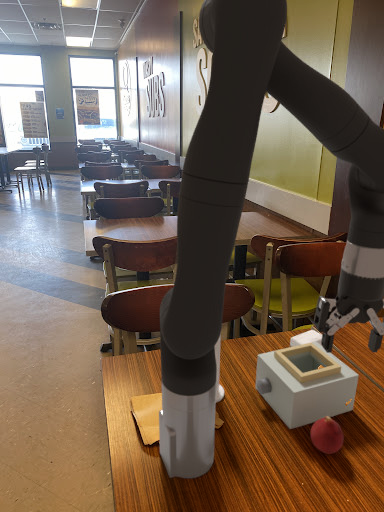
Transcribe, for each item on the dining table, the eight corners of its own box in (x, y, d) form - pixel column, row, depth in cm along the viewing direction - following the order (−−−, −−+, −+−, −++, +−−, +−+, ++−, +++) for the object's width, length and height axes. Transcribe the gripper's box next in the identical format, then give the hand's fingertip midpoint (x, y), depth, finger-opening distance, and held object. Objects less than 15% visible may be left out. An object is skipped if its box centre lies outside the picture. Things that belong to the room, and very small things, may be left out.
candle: (219, 407, 86) (223, 303, 78) (189, 399, 88) (189, 298, 80) (227, 387, 92) (231, 289, 84) (198, 381, 94) (200, 285, 86)
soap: (311, 337, 114) (312, 328, 113) (326, 346, 110) (327, 337, 109) (288, 346, 110) (289, 336, 109) (303, 356, 105) (304, 346, 104)
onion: (334, 439, 78) (339, 406, 75) (345, 463, 72) (351, 428, 69) (304, 439, 77) (309, 406, 75) (314, 464, 72) (319, 429, 69)
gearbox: (281, 432, 79) (286, 388, 76) (247, 389, 92) (250, 350, 88) (352, 410, 85) (359, 368, 82) (311, 373, 98) (316, 335, 94)
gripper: (332, 276, 63) (319, 362, 69) (418, 276, 64) (398, 361, 69) (316, 260, 70) (305, 339, 76) (393, 260, 71) (377, 339, 77)
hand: (349, 350), depth 73 cm, fingers open, 8 cm apart
